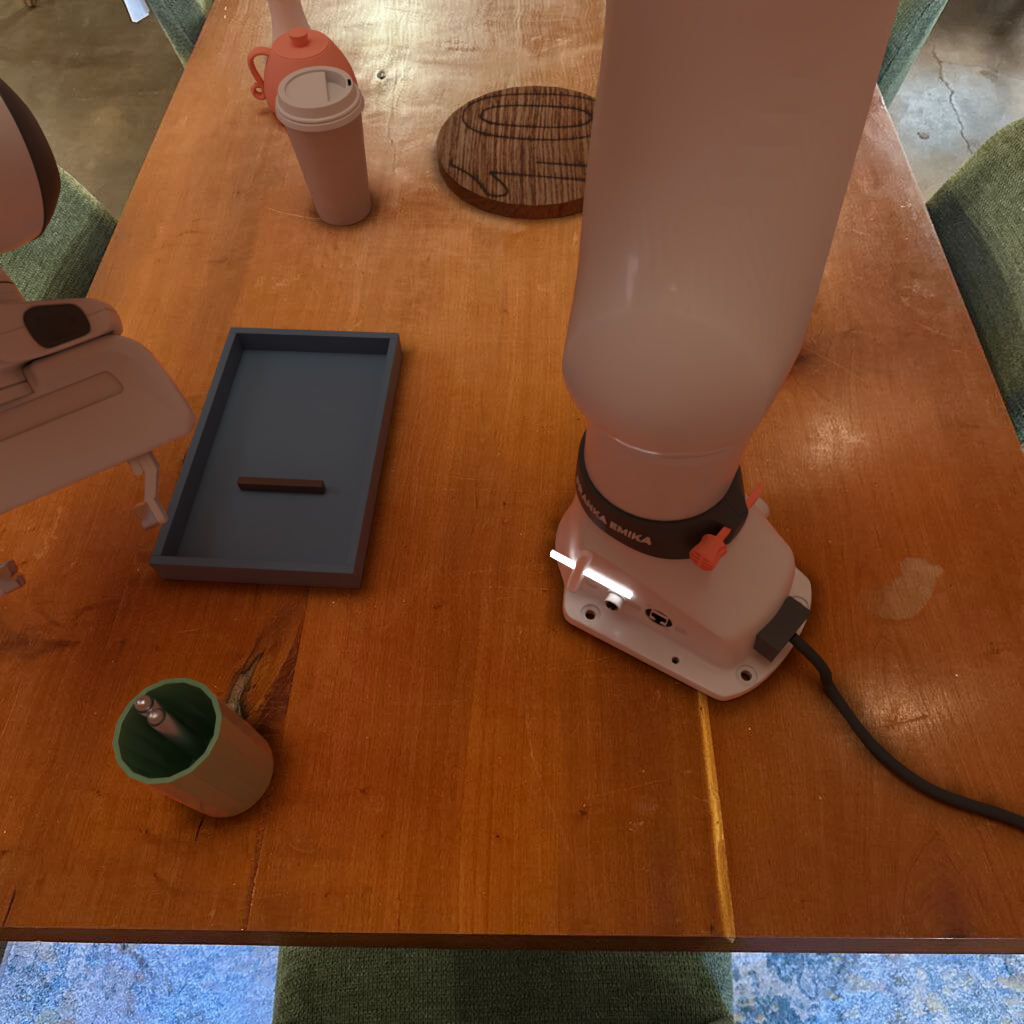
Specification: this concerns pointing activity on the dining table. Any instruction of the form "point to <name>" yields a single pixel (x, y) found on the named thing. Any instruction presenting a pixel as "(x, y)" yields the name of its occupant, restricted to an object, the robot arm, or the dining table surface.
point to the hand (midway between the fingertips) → (87, 557)
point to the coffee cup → (327, 140)
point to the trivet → (519, 151)
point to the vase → (286, 16)
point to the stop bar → (281, 485)
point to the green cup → (218, 772)
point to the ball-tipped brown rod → (176, 733)
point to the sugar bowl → (294, 60)
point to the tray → (284, 460)
